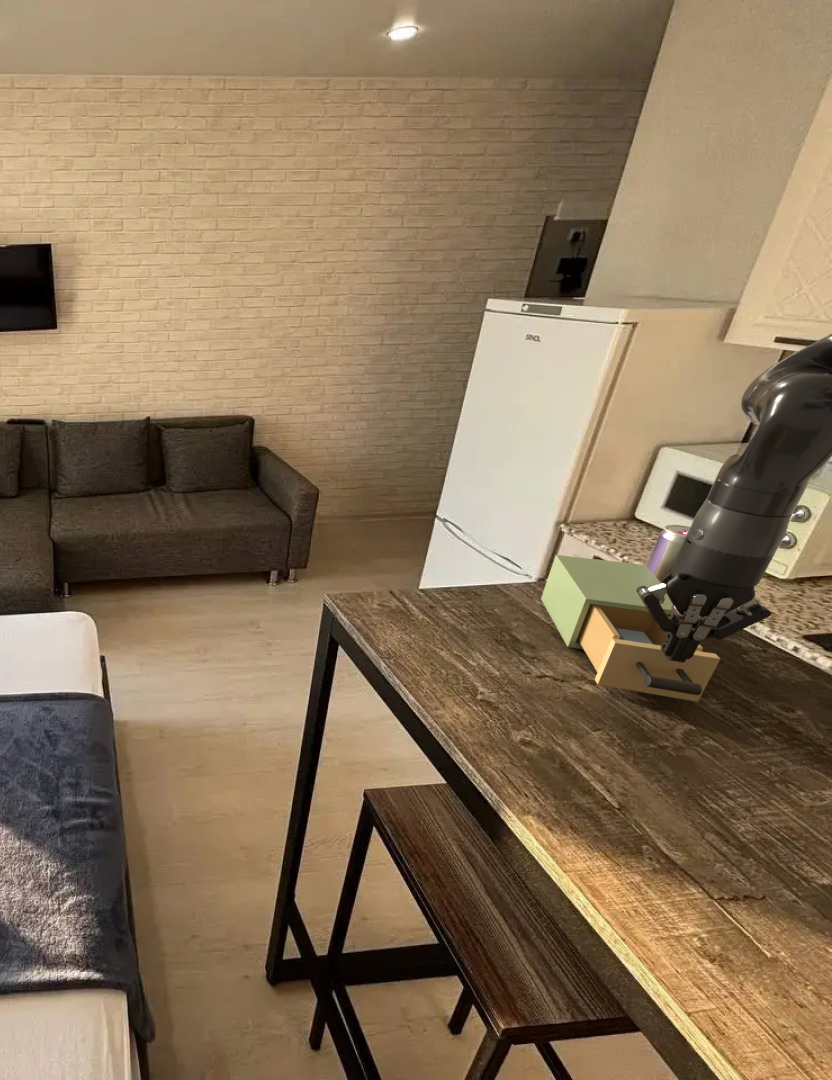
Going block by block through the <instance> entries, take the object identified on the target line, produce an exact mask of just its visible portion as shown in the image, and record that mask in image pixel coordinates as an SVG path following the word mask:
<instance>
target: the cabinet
mask: <svg viewBox="0 0 832 1080" xmlns="http://www.w3.org/2000/svg"><path fill="white" fill-rule="evenodd" d="M646 566H647V565H645V564H638V563H631V562H624V561H623V562H622V561H616V560H615V561H614V560H605V559H597V558H588V557H579V556H569V555H561V554H555V556H554V559H553V562H552V564H551V569H550V571H549V574H548V576H547V580H546V583H545V586H544V589H543V591H542V594H541V597H540V600H541V602H542V604H543V606H544V607H545V609H546V611H547V613H548V614H549V616H550V618H551V620H552V622H553V623H554V625H555V627H556V629H557V631H558V632H559V634H560V636H561V638H562V639H563V641H564V643H565V646H566V647H567V648H570V649H576V650H577V649H578V650H583V651H585V650H584V649H583V647H582V645H581V644H580V642H579V640H578V639H577V637H578V635H579V632H580V629H581V627H582V624H583V622H584V619H585V616H586V614H587V611H588V609H589V606H590V604H595V605H603V606H610V607H617V608H625V609H632V610H640V611H647V612H649V611H648V610H647V608H646V606H645V605H644V603H643V601H642V600H641V598H640V596H639V595H638V593H637V591H636V589H637V588H638V587H640V586H646V587H647V588H650V587H653V586H656V585H659V584H662V583H661V582H660V581H659V580H658V579H657V578H656V577H655V576H654V575H653V574H652V572H651V571H650V570H649V569H648V568H647V567H646ZM664 598H665V600H664V603H663V604H660V605H661V607H662V608H663V610H664V612H665V613H666V614H669V615H671V614H672V611H671V607H672V602H671V600H670V598H669V597H668V595H667V593H666V594H665V596H664Z"/></svg>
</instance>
